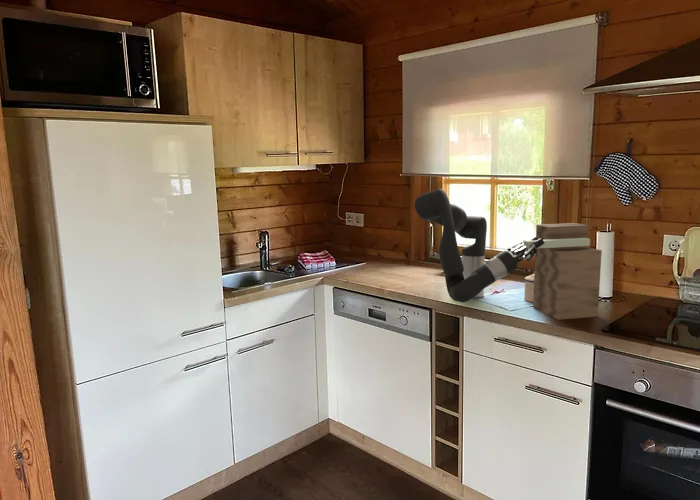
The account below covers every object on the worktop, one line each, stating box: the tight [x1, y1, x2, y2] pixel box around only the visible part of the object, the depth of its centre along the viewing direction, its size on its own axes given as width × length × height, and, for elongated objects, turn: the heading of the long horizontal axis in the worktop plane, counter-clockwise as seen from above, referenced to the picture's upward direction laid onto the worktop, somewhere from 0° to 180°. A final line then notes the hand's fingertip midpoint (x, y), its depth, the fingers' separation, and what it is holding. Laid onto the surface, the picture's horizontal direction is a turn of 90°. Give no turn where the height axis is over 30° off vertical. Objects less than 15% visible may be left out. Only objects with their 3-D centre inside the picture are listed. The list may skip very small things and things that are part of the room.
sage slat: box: [522, 237, 591, 249], centre depth 187 cm, size 3×24×2 cm, turn 101°
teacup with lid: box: [523, 271, 535, 303], centre depth 214 cm, size 12×9×12 cm
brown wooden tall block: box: [532, 222, 603, 320], centre depth 194 cm, size 16×16×32 cm
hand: (540, 239), depth 185 cm, fingers closed on sage slat, 3 cm apart
